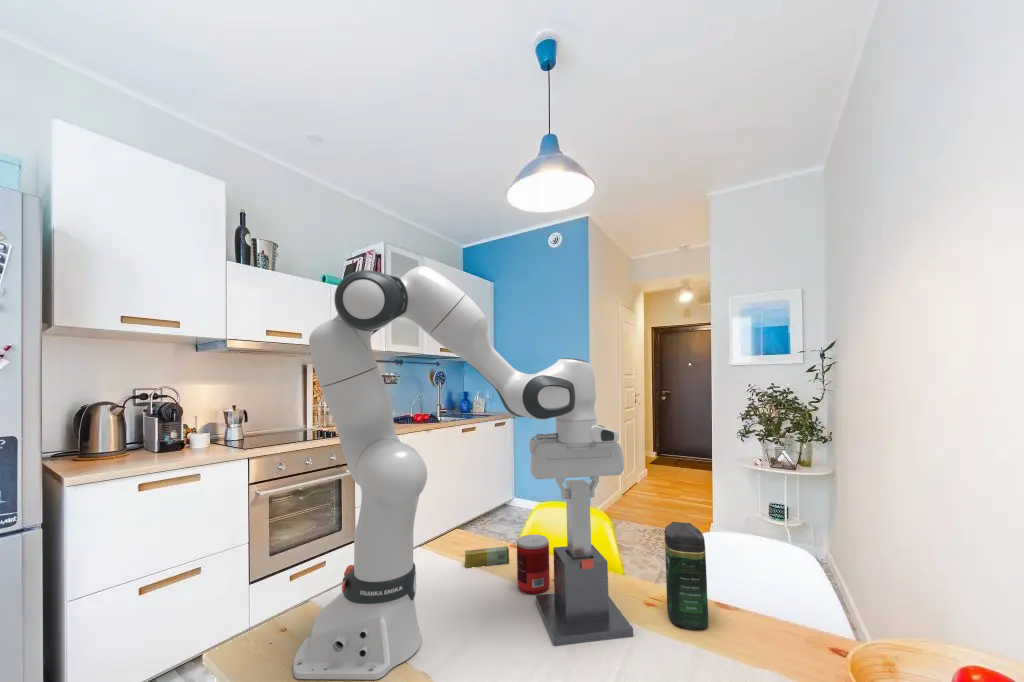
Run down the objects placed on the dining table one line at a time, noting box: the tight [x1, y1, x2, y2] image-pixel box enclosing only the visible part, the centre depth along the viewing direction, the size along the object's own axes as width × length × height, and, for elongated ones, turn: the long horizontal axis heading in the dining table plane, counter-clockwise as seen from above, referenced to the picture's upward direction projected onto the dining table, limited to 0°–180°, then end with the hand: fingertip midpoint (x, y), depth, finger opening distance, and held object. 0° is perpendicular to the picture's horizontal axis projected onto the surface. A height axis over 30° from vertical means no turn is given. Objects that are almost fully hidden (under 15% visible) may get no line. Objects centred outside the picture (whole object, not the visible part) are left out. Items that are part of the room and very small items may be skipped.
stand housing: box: [535, 543, 634, 647], centre depth 91 cm, size 16×16×14 cm
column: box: [565, 479, 592, 560], centre depth 91 cm, size 4×4×22 cm
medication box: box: [464, 545, 510, 569], centre depth 117 cm, size 12×3×4 cm, turn 102°
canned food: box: [516, 534, 551, 595], centre depth 104 cm, size 8×8×11 cm
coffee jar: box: [664, 521, 709, 630], centre depth 90 cm, size 10×8×19 cm
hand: (577, 497), depth 92 cm, fingers closed on column, 4 cm apart
